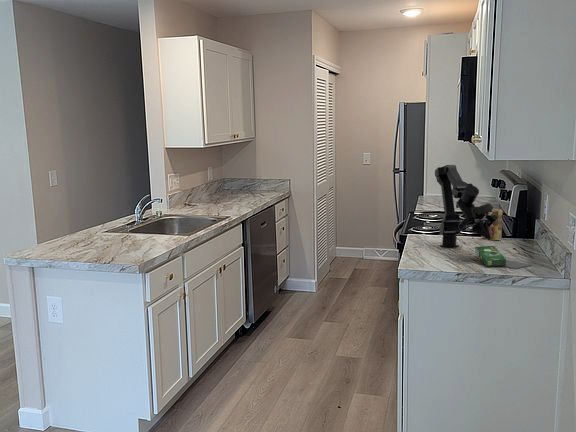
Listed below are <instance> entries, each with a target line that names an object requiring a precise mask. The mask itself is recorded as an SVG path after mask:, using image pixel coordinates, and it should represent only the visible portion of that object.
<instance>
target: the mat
mask: <svg viewBox="0 0 576 432" xmlns="http://www.w3.org/2000/svg"><path fill="white" fill-rule="evenodd" d="M532 266H533V265H532V264H530V263H526V262H525V263H524V262H520V261H517V260H510V259H506V265H502V266H501V267H503V268H507V269H512V270H518V269H522V268H527V267H532Z"/></svg>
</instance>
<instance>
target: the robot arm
mask: <svg viewBox="0 0 576 432" xmlns="http://www.w3.org/2000/svg"><path fill="white" fill-rule="evenodd" d="M434 176H435V179H436V182H437V183H438V184H439V185H440V189H441V194H442V195H441V196H442V204H443V210H444V215H443V216H442V219H441V224H440V226H439V228H438V229H439V234H441V235H442V244H439V246H440V247H443V248H449V249H453V248H458V247H460V245H459V244H457V235H461V232H463V231H466V230H467V227H471V229H470V231H471V232H473V233H476V234H478V235H480V236H481V237H482V236H483V237H485V238H487V239H490V238H491V236H490V233H489V229H488V227H490V226H491V225H492V224H493V223H494V222H495V221H496V220H497V219H498V218H497V216H496V215H487V216H486V215H485V214H486V213H489V212H492V210H493V208H494V207H493V206H492V204H491V203H484V204H483V205H480V206H475V204H474V203H475V201H476V199H477V197H478V196H479V193H480V189H479V188H477V187H476V186H475V185H473V183H467V182H465V181H464V180H463V179H462V177H461V176H460V173H459V172H458V169H457V166H456V165H455V164H446V165H443V166H441V167H440V166H439V167H437V168H436V169H435V170H434ZM454 199H458V201H456V202H455V204H454ZM455 208H456V209H458V208H459V210H460V211H461V212H462V214H463V215H462V218H463V219H462V220H461V217H460V214H459V213H457V212H456V211H455ZM485 216H486V217H485ZM483 217H485V218H484V219H483Z"/></svg>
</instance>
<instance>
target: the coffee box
mask: <svg viewBox="0 0 576 432" xmlns="http://www.w3.org/2000/svg"><path fill="white" fill-rule="evenodd" d="M474 249H475V254H476V255H477V257H478V258H479V259H480V260H481V261H482V263H483V264H484V265H485V267H489V268H490V267H503V266H502V265H506V260H507V259H506V257H505V256H504V255H503V254H502V253H501V252H500V251H499V250H498V249H497V248H496V246H495V245H486V246H475V248H474Z"/></svg>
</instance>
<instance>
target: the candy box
mask: <svg viewBox="0 0 576 432" xmlns="http://www.w3.org/2000/svg"><path fill="white" fill-rule="evenodd" d="M485 215H486V216H487V215H496V216H497V218H498V219H497V220H496V221H495V222H494V223H493V224H492V225H491V226H490V227H488V229H489V233H490V236H491V238H490V239H491V240H490V241H494V240H499V241H502V234H503V233H502V232H503V231H502V230H503V229H502V228H503V227H502V226H503V209H493V210H492V212H489V213H486V214H485ZM486 216H485V217H486ZM485 217H483V219H484V218H485ZM481 238H485V237H483V236H482V235H481ZM486 239H487V238H485V239H484V240H486Z"/></svg>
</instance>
